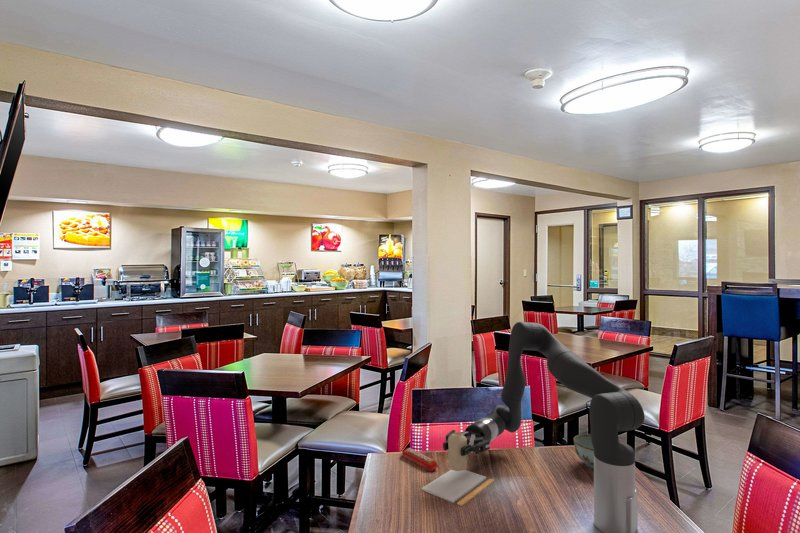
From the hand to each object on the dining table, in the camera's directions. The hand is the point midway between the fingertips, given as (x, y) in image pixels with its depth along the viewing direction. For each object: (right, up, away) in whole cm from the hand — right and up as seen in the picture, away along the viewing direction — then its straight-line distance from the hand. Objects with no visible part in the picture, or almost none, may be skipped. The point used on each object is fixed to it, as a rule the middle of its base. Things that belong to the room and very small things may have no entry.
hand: (452, 449), depth 132 cm
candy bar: (-9, -11, +16) cm, 22 cm away
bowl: (+48, -11, +13) cm, 50 cm away
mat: (+1, -11, +1) cm, 11 cm away
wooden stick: (+6, -11, -3) cm, 13 cm away
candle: (+2, -6, +2) cm, 7 cm away
